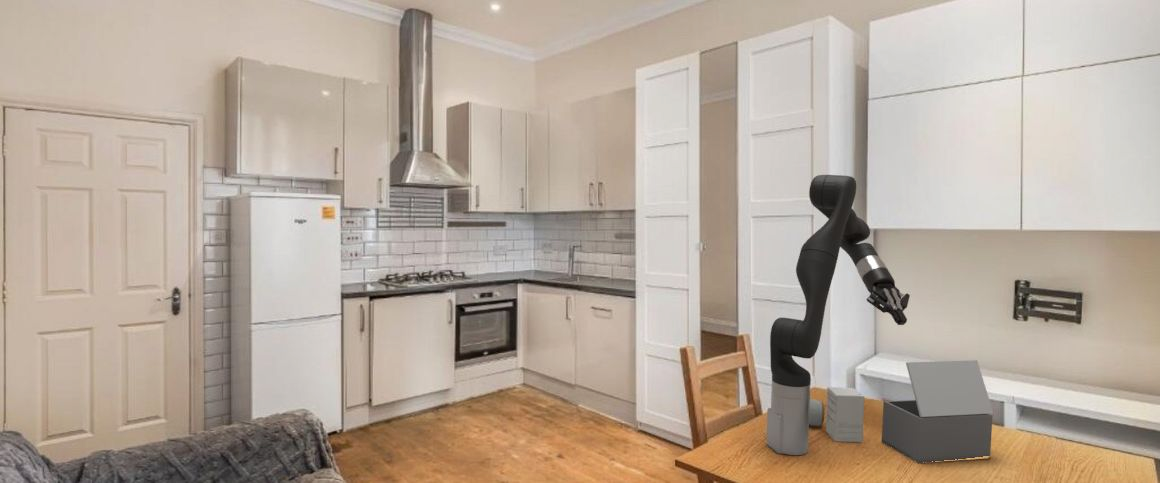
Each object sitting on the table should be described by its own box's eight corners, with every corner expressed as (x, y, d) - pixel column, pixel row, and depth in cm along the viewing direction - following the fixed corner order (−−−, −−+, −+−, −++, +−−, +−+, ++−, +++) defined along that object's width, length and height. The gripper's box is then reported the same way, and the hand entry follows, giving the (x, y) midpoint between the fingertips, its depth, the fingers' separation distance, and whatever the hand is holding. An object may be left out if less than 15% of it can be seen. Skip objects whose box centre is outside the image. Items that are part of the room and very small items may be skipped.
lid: (920, 417, 137) (921, 416, 137) (905, 362, 142) (907, 362, 142) (991, 413, 141) (993, 413, 140) (975, 360, 145) (977, 360, 145)
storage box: (918, 463, 138) (920, 418, 137) (881, 442, 150) (883, 401, 150) (990, 458, 141) (992, 415, 140) (947, 438, 154) (949, 398, 153)
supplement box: (852, 432, 157) (854, 387, 156) (863, 443, 149) (865, 396, 149) (824, 431, 158) (826, 386, 157) (834, 441, 150) (836, 394, 149)
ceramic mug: (824, 430, 158) (826, 403, 157) (793, 427, 160) (794, 400, 160) (819, 418, 168) (820, 392, 168) (790, 415, 170) (791, 389, 170)
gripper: (860, 266, 164) (888, 316, 153) (901, 266, 167) (931, 315, 155) (848, 282, 170) (874, 331, 158) (887, 282, 172) (916, 330, 161)
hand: (902, 323), depth 157 cm, fingers closed
